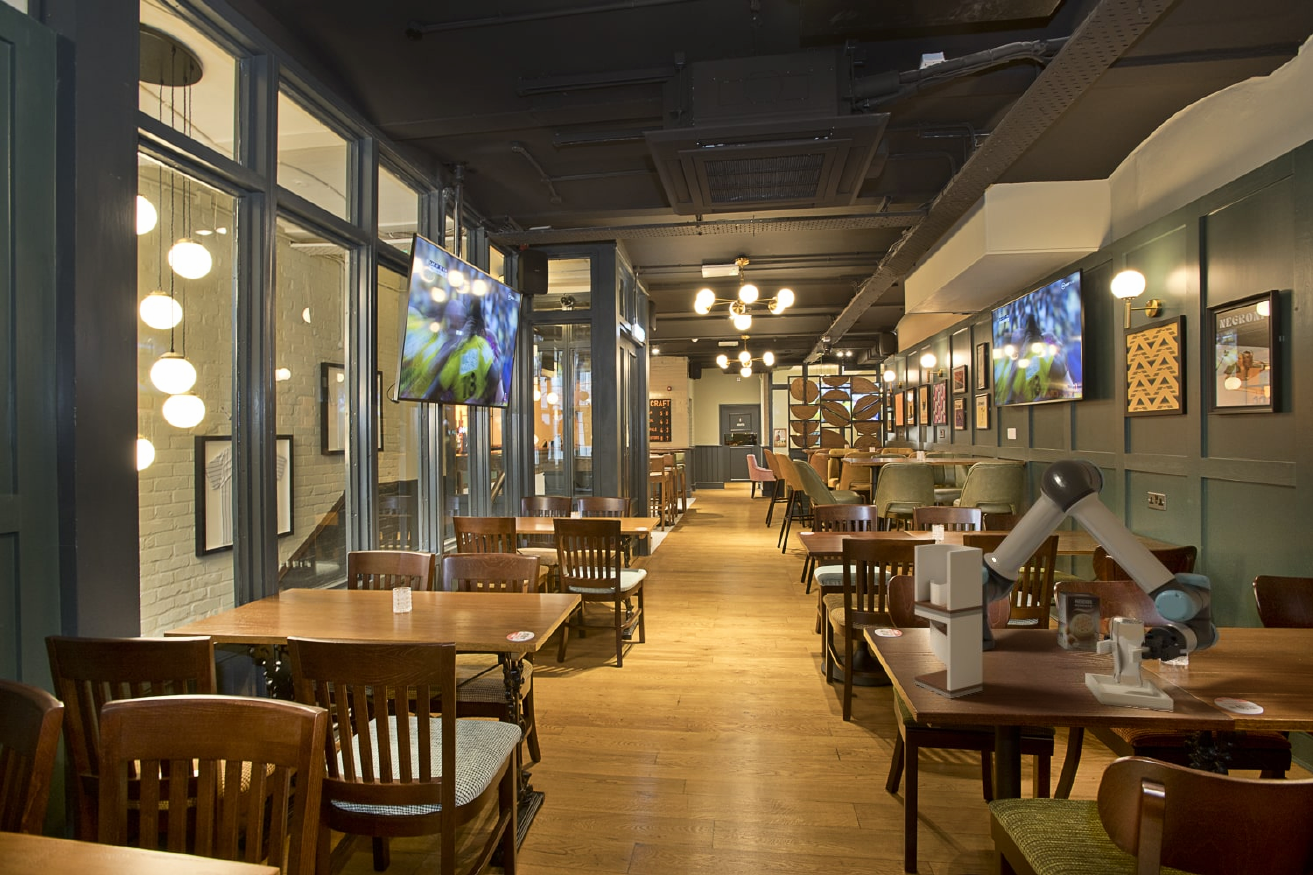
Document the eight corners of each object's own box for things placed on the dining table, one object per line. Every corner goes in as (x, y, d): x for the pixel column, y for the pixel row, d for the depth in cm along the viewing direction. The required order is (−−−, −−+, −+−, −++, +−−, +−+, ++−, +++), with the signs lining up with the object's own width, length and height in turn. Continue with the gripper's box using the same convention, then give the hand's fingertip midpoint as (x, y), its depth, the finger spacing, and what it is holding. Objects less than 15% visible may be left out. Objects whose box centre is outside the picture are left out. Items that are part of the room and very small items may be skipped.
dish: (1101, 704, 157) (1101, 692, 157) (1085, 683, 170) (1085, 672, 170) (1173, 712, 152) (1173, 700, 152) (1151, 690, 165) (1151, 679, 165)
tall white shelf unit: (946, 677, 174) (946, 542, 174) (982, 691, 165) (982, 548, 165) (914, 684, 169) (914, 546, 169) (950, 699, 160) (950, 552, 160)
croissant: (1163, 658, 202) (1172, 633, 203) (1142, 645, 199) (1151, 620, 200) (1096, 637, 222) (1105, 614, 223) (1076, 625, 219) (1085, 602, 220)
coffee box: (1066, 650, 198) (1066, 595, 198) (1057, 643, 204) (1057, 590, 204) (1100, 651, 196) (1100, 596, 196) (1090, 645, 202) (1090, 592, 202)
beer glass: (1151, 689, 157) (1151, 625, 157) (1118, 687, 158) (1118, 623, 158) (1136, 678, 164) (1136, 617, 164) (1104, 676, 165) (1104, 615, 165)
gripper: (1216, 666, 160) (1160, 681, 150) (1128, 644, 177) (1073, 656, 168) (1216, 635, 160) (1160, 647, 150) (1128, 616, 178) (1073, 626, 168)
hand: (1114, 652), depth 159 cm, fingers closed on beer glass, 7 cm apart
